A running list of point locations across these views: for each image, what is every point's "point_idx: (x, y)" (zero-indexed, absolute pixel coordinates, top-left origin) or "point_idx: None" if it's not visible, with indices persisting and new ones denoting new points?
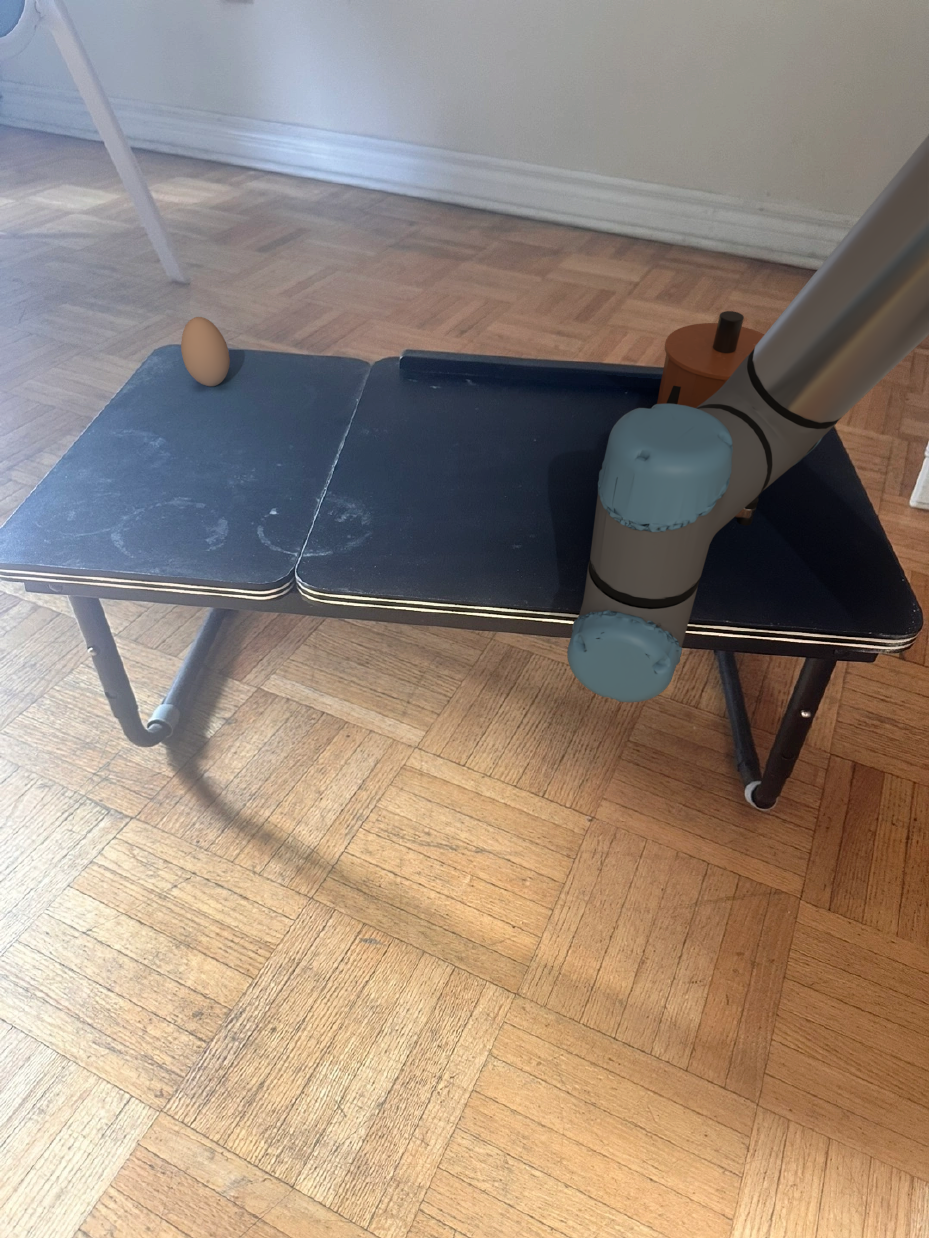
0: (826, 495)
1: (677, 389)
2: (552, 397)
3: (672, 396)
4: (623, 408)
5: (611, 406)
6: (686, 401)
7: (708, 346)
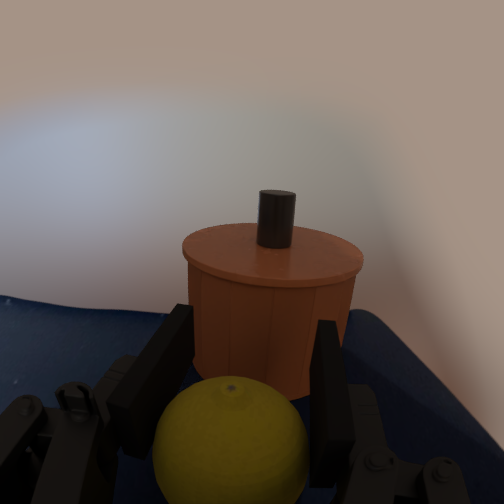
0: (457, 442)
1: (183, 311)
2: (73, 321)
3: (165, 329)
4: (152, 335)
5: (137, 333)
6: (222, 330)
7: (249, 242)
